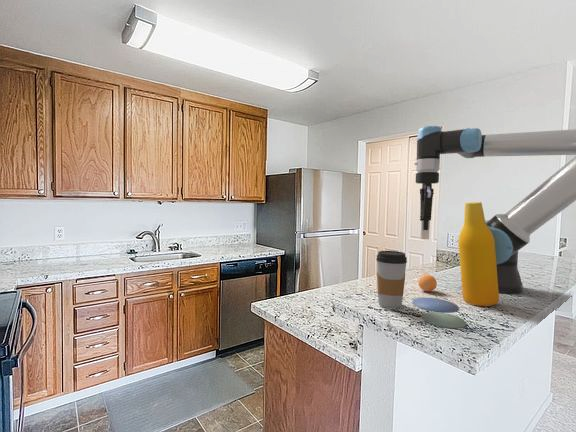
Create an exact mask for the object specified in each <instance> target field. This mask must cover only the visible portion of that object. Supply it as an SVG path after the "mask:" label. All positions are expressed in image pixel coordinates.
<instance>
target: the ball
mask: <svg viewBox="0 0 576 432" xmlns="http://www.w3.org/2000/svg"><path fill="white" fill-rule="evenodd" d="M418 286H419V288H420V289H421V290H423V291H424V292H428V293H429V292H432V291H434V290H435V289H436V288H437V279H436V278H435V277H434V276H433V275H431V274H424V275H421V276H420V277H419V278H418Z"/></svg>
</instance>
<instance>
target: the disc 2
mask: <svg viewBox="0 0 576 432" xmlns="http://www.w3.org/2000/svg"><path fill="white" fill-rule="evenodd" d="M421 319H422V320H423V321H424V322H425V323H429V325H433V326H436V327H441V328H446V329H461V328H465V327H466V326H467V322H466V320H464V319H463V318H462V317H459V316H457V315H454V314H450V313H447V312H435V311H430V312H424V313H422V315H421Z"/></svg>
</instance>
